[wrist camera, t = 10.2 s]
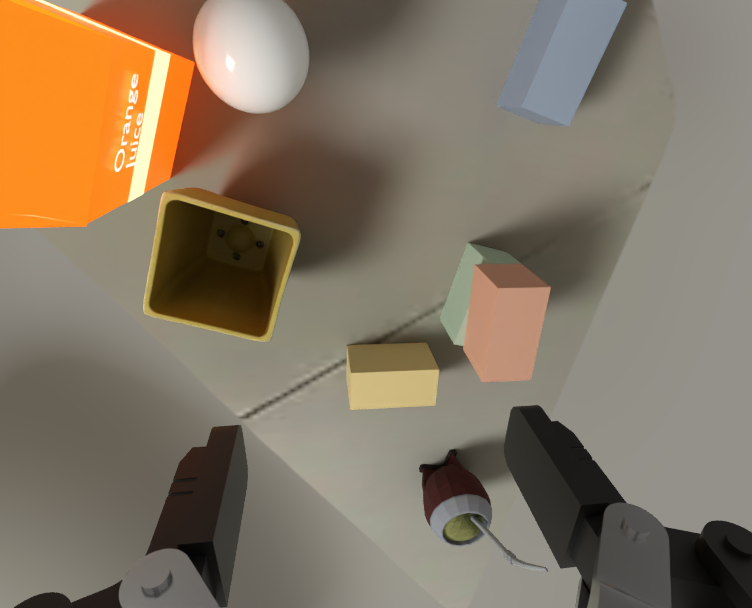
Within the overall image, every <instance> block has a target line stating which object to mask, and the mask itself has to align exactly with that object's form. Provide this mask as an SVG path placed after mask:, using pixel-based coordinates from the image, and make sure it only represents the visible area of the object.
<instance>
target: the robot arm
mask: <svg viewBox="0 0 752 608" xmlns="http://www.w3.org/2000/svg"><path fill="white" fill-rule="evenodd" d="M504 455H505V460H506V463H507V465H508V468H509V470H510V471H511V473H512V475H513V477H514V479H515V481H516V483H517V485H518V487H519V489H520V491H521V493H522V495H523V497H524V499H525V501H526V502H527V504H528V506H529V508H530V510H531V512H532V514H533V516H534V518H535V520H536V522H537V524H538V526H539V528H540V529H541V531H542V533H543V535H544V537H545V539H546V541H547V543H548V545H549V547H550V549H551V551H552V553H553V555H554V556H555V558H556V560H557V562H558V564H559V566H560V568H569V567H577V569H578V570H579V572H580V574H581V578H580V581H579V586H578V592H577V599H576V605H575V608H752V533H751V532H750V531H748V530H746V529H745V528H742V527H741V526H738V525H736V524H733V523H730V522H726V521H711V522H708V523H707V524H706V525H705V527H704V528H703V530H702V532H701V534H698V533H692V532H688V531H683V530H677V529H672V528H667V527H664V526H663V525H662V524H661V523H660V522H659V521H658V519H656V518H655V517H654V516H653V515H652V514H650V513H649V512H647V511H646V510H644V509H642V508H640V507H638V506H635V505H632V504H628V503H626V501H625V500H624V499H623V498H622V496H621V495H620V494H619V493H618V491H617V490H616V488H615V487H614V486H613V485H612V483H611V482H610V480H609V479H608V478H607V476H606V475H605V474H604V472H603V471H602V470H601V469H600V467H599V466H598V464H597V463H596V462H595V461H594V460H592V457H591V455H590V454H589V453H588V452H587V450H586V449H584V446H583V445H582V443H581V442H580V441H579V439H578V438H577V437H576V436H575V434H574V433H573V432H572V431H570V430H569V429H568V428H566V427H565V426H564V425H562V424H561V423H560V422H558V421H552V422H551V420H550V419H549V417H548V416H547V415H546V413H545V412H544V410H543V409H542V408H541V407H540V406H538V405H532V406H518V407H513V408H512V410H511V412H510V417H509V422H508V428H507V433H506V438H505V443H504ZM247 470H248V468H247V460H246V453H245V446H244V439H243V433H242V428H241V425H235V426H219V427H213V428H212V430H211V433H210V437H209V440H208V443H207V446H206V447H194V448H192V449H191V450H190V451H189V452H188V453H187V455H186V456H185V457H184V458H183V459H182V460H181V461H180V463H179V465H178V468H177V471H176V474H175V476H174V479H173V483H172V485H171V488H170V490H169V495H168V497H167V499H166V501H165V504H164V507H163V510H162V513H161V515H160V518H159V521H158V524H157V527H156V530H155V533H154V535H153V538H152V541H151V544H150V546H149V549H148V551H147V554H146V555H145V557H143V558H142V559H141V560H139V561H138V562H137V563H136V564H134V565H133V566H132V567H131V569H130V570H129V571H128V572H127V574H126V575H125V577H124V579H123V580H121V581H120V582H118V583H117V584H115V585H113V586H111V587H109V588H107V589H104V590H102V591H99V592H97V593H94V594H92V595H89V596H87V597H84V598H82V599H79V600H77V601H74V602H72V603H71V602H70V600H69V599H68V598H67V597H66V596H65V595H63V594H60V593H54V592H50V593H43V594H39V595H37V596H34V597H31V598H29V599H27V600H25V601H24V602H22V603H20V604H18V605H17V606H16V607H14V608H221V607H227V604H228V597H229V592H230V585H231V580H232V574H233V568H234V562H235V556H236V550H237V543H238V537H239V532H240V526H241V519H242V514H243V508H244V501H245V496H246V490H247V480H248V471H247Z"/></svg>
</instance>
